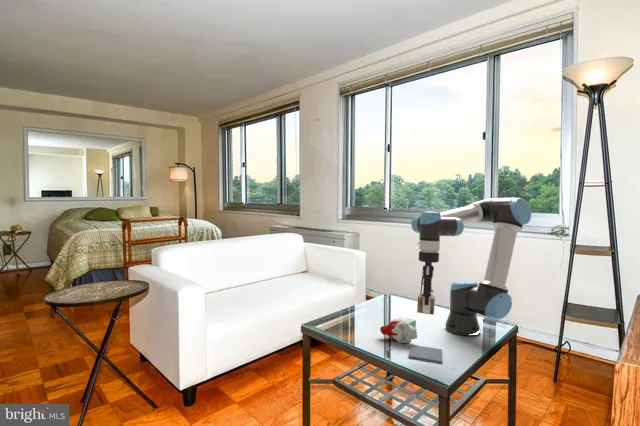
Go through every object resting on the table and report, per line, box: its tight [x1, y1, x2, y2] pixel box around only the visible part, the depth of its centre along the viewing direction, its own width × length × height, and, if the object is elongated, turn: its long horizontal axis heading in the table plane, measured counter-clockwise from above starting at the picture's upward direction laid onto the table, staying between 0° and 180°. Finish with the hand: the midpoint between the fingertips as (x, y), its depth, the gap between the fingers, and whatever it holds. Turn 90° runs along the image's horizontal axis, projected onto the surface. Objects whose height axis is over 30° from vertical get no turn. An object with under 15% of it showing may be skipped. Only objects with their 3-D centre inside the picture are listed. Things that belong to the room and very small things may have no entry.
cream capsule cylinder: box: [397, 316, 410, 323], centre depth 159 cm, size 5×5×6 cm
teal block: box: [408, 318, 417, 329], centre depth 164 cm, size 4×6×4 cm, turn 136°
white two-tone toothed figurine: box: [379, 318, 418, 344], centre depth 149 cm, size 9×11×15 cm
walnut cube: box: [416, 293, 436, 315], centre depth 134 cm, size 6×6×6 cm
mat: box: [408, 344, 443, 365], centre depth 134 cm, size 12×12×1 cm
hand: (426, 310), depth 134 cm, fingers closed on walnut cube, 6 cm apart
